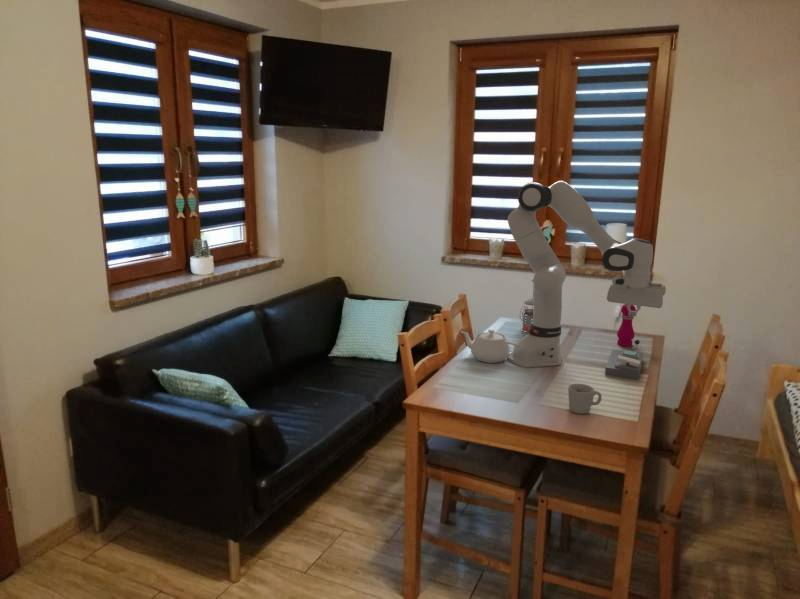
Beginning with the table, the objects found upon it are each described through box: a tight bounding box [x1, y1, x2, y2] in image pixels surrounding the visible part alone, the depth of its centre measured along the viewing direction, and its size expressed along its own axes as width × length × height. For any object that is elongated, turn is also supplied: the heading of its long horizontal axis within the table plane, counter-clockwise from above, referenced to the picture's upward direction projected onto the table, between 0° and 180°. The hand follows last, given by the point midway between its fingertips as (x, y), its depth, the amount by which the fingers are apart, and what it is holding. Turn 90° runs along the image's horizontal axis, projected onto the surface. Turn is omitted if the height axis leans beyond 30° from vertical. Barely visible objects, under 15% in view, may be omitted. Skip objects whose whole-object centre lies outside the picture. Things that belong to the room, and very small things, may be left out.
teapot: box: [460, 329, 519, 364], centre depth 242 cm, size 25×16×12 cm, turn 60°
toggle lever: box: [630, 339, 641, 352], centre depth 239 cm, size 2×2×6 cm
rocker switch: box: [617, 355, 640, 367], centre depth 226 cm, size 4×8×2 cm, turn 65°
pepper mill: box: [616, 304, 637, 347], centre depth 261 cm, size 7×7×20 cm
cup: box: [568, 383, 602, 415], centre depth 193 cm, size 11×8×8 cm
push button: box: [624, 350, 638, 356], centre depth 233 cm, size 4×4×3 cm
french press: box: [519, 279, 534, 332], centre depth 279 cm, size 10×12×25 cm
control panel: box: [604, 349, 645, 381], centre depth 234 cm, size 24×12×6 cm, turn 155°
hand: (632, 315), depth 231 cm, fingers closed
